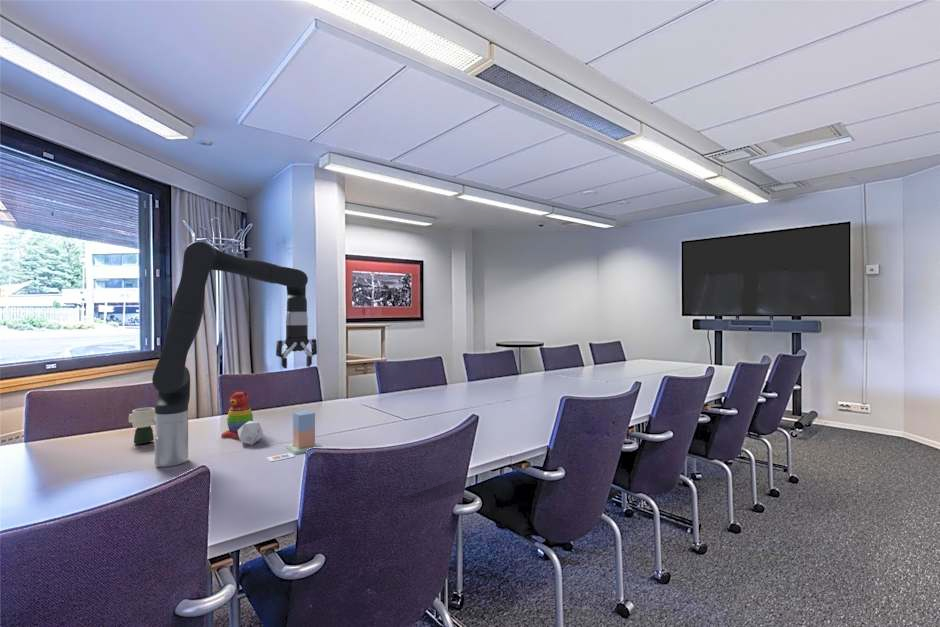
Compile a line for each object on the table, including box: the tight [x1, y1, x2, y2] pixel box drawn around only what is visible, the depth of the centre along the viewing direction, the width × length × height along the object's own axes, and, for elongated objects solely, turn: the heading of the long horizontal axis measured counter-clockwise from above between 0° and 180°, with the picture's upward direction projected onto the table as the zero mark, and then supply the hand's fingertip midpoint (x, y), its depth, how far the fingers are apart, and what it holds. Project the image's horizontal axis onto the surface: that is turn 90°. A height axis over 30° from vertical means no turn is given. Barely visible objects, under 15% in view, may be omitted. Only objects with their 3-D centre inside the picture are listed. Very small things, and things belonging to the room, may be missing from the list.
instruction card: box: [266, 452, 296, 463], centre depth 156 cm, size 8×5×1 cm, turn 129°
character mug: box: [128, 406, 155, 445], centre depth 171 cm, size 11×7×13 cm, turn 94°
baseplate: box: [285, 441, 323, 455], centre depth 166 cm, size 10×10×1 cm
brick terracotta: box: [292, 428, 316, 448], centre depth 166 cm, size 6×6×6 cm
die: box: [237, 420, 265, 446], centre depth 172 cm, size 8×9×10 cm
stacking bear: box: [221, 391, 254, 440], centre depth 182 cm, size 11×10×18 cm
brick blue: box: [292, 409, 316, 432], centre depth 166 cm, size 6×6×6 cm
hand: (296, 367), depth 166 cm, fingers open, 8 cm apart
